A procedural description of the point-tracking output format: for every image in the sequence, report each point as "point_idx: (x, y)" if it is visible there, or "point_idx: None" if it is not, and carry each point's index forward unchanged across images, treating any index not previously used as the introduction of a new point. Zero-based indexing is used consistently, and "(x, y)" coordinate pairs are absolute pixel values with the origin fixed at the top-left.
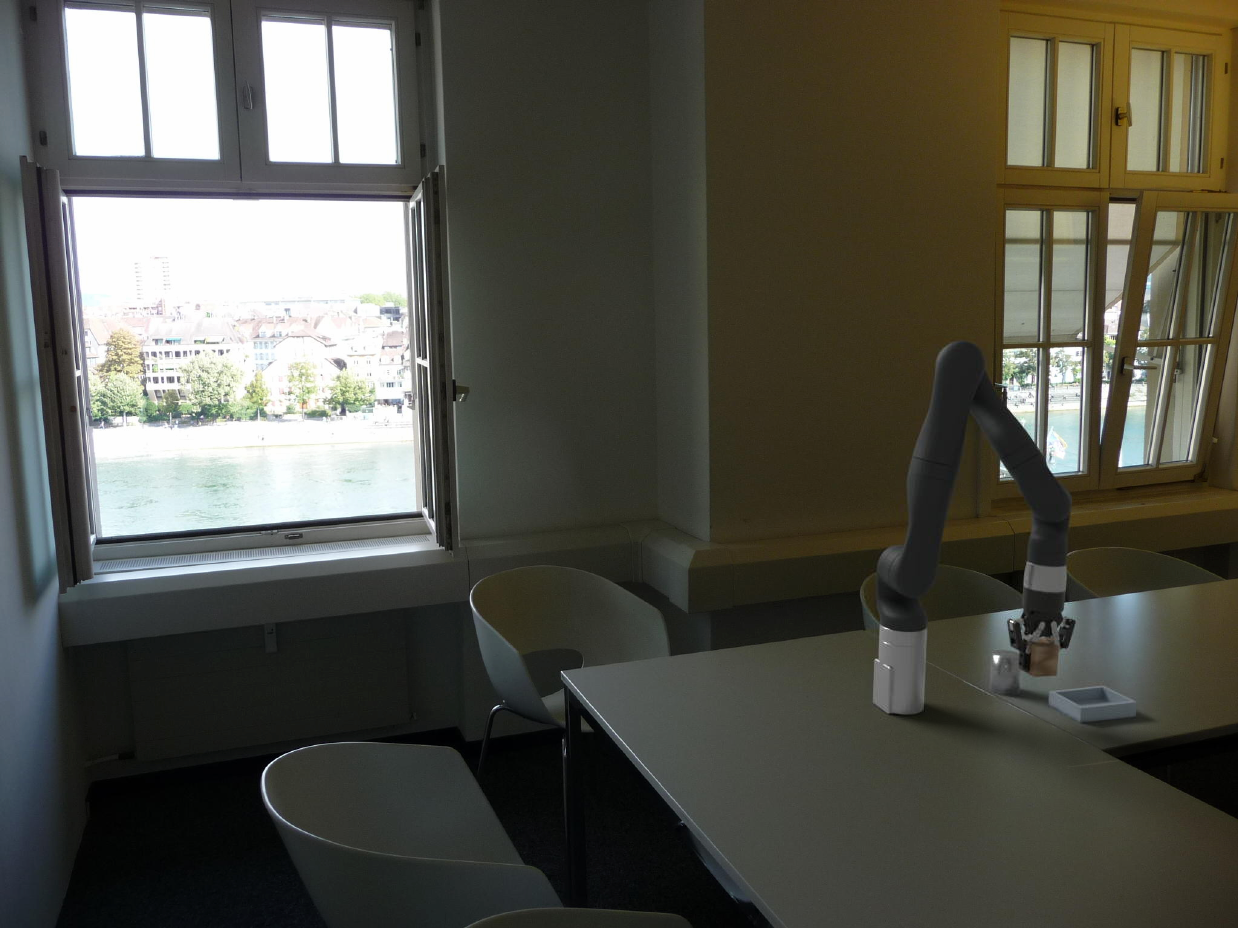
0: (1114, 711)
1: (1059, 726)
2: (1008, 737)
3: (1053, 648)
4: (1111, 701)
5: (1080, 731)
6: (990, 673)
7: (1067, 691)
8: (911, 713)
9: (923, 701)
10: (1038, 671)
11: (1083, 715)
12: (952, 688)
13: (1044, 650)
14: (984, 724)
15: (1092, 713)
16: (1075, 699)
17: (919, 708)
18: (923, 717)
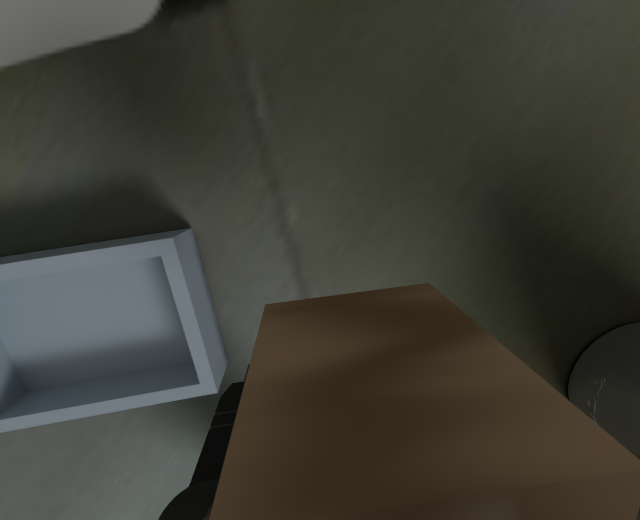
0: (32, 255)
1: (272, 214)
2: (477, 148)
3: (314, 477)
4: (4, 358)
5: (222, 167)
6: None
7: (149, 391)
8: (635, 324)
9: (610, 362)
10: (411, 301)
11: (171, 233)
12: None
13: (457, 433)
14: (487, 249)
15: (130, 241)
16: (129, 376)
17: (620, 337)
18: (611, 306)
